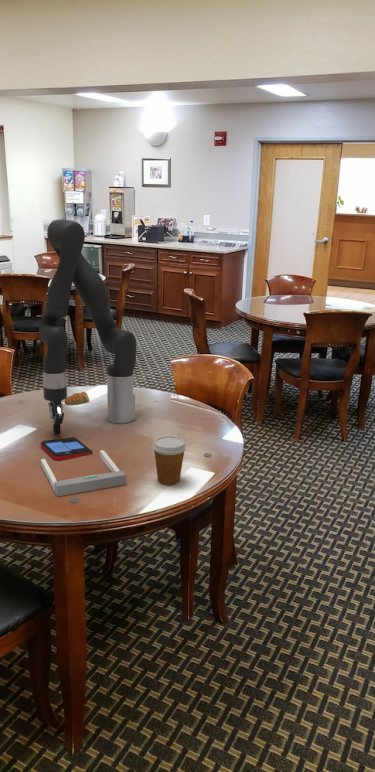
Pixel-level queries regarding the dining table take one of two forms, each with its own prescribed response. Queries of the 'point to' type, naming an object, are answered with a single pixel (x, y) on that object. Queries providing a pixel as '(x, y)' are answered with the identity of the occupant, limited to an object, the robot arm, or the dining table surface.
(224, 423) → the dining table surface
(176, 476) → the disposable coffee cup
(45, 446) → the game console
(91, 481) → the charging dock
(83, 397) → the pastry
